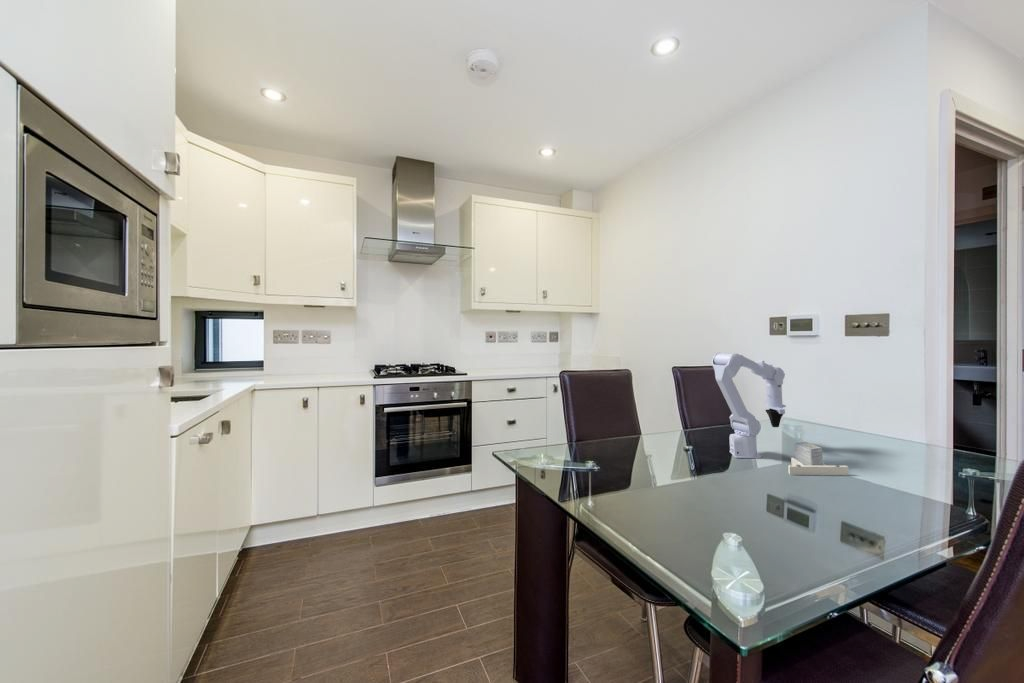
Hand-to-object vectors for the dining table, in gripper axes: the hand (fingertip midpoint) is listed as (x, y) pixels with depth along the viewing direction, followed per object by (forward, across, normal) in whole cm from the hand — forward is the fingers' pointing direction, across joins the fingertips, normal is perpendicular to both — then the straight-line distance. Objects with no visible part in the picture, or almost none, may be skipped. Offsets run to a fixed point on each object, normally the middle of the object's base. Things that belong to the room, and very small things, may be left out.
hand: (775, 426), depth 167 cm
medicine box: (+10, -22, -2) cm, 24 cm away
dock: (+9, -23, -2) cm, 25 cm away
